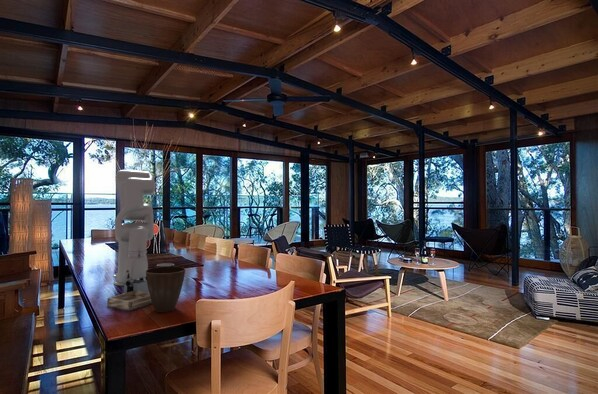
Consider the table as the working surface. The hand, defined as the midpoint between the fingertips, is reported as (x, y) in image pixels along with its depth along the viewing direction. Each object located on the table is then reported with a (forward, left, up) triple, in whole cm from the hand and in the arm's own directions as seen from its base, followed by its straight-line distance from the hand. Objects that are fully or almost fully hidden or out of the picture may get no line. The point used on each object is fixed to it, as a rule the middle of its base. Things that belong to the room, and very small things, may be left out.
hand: (135, 292), depth 156 cm
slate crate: (0, 0, -1) cm, 1 cm away
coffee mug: (-5, +22, -1) cm, 23 cm away
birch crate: (+11, -12, -1) cm, 16 cm away
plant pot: (+28, -11, -1) cm, 30 cm away
